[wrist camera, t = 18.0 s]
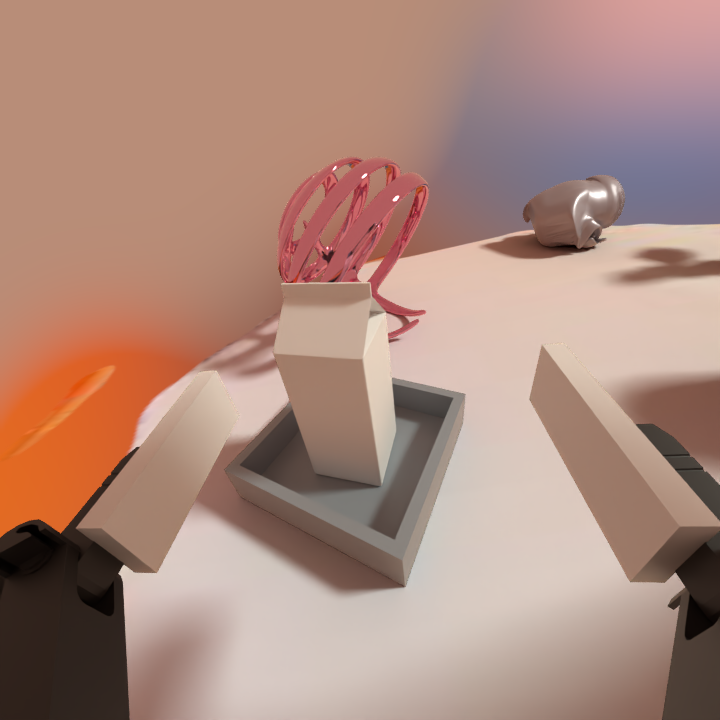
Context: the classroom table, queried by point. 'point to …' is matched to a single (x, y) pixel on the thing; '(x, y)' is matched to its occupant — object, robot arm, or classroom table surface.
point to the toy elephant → (575, 211)
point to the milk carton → (338, 377)
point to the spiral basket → (350, 227)
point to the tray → (354, 499)
